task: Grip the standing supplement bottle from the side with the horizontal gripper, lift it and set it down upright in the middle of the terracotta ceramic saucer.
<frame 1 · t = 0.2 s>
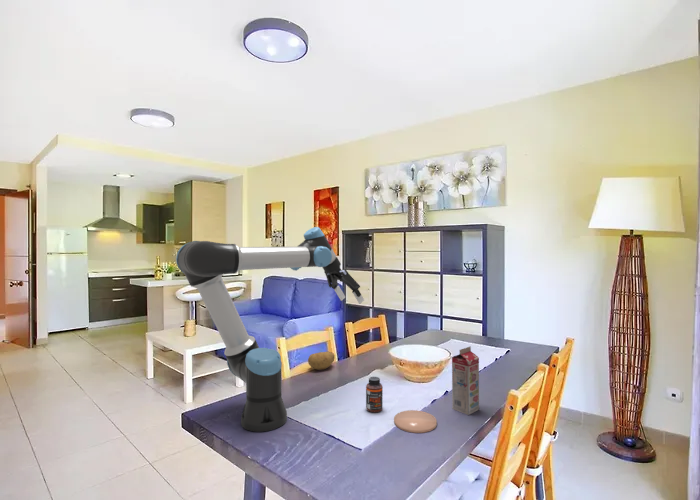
hand: (352, 300, 166), 35 cm above the table, tool tilted 35°, fingers open, 13 cm apart
saucer: (415, 422, 126), on the table
juice carton: (465, 409, 136), on the table
potato: (321, 369, 181), on the table
supplement bottle: (374, 410, 136), on the table
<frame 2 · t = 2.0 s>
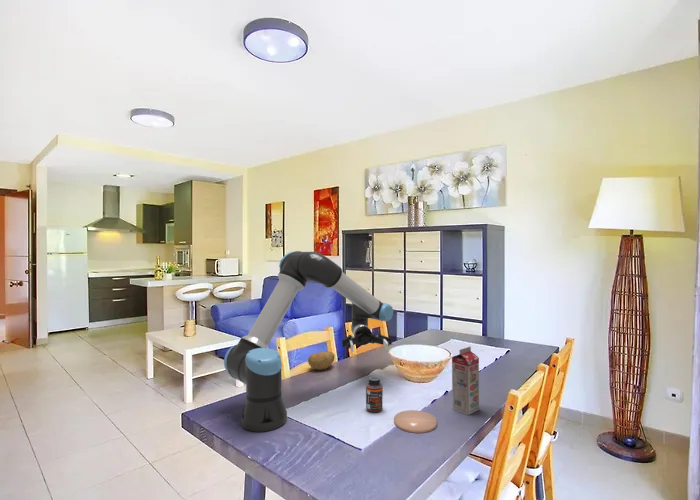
hand: (369, 347, 145), 20 cm above the table, tool horizontal, fingers open, 13 cm apart
nothing on the table moved.
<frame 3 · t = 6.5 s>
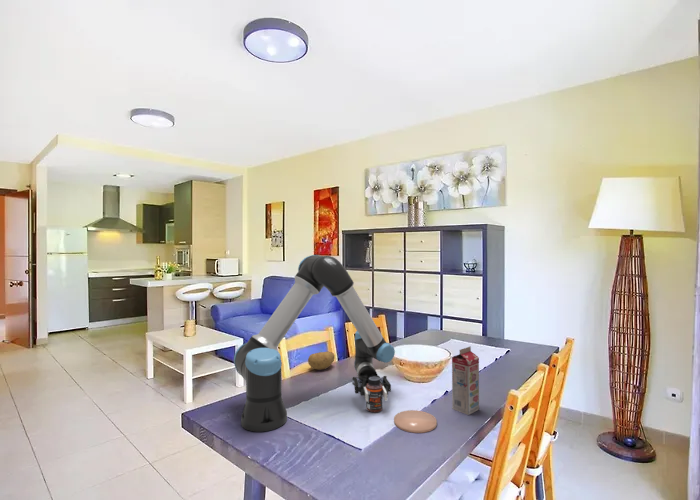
hand: (376, 397, 131), 7 cm above the table, tool horizontal, fingers closed on supplement bottle, 6 cm apart
supplement bottle: (374, 410, 136), on the table, touching gripper
everything else where it was.
when the fingers open (9 cm above the table, at t = 12.1 s): supplement bottle drops 1 cm, resting on saucer.
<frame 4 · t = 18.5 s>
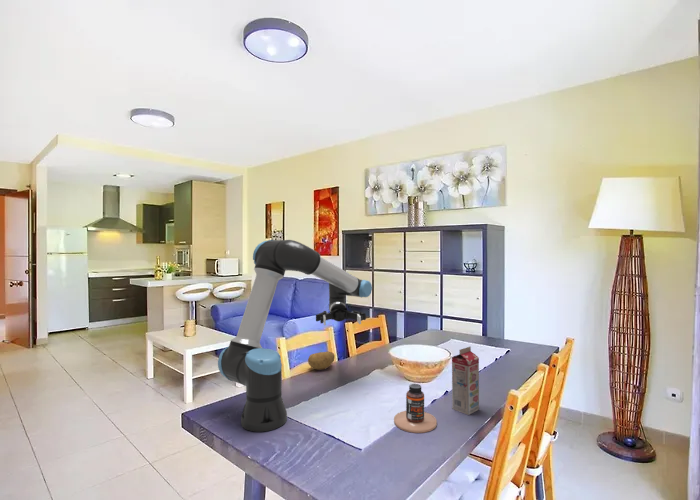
hand: (342, 321, 145), 30 cm above the table, tool horizontal, fingers open, 13 cm apart
supplement bottle: (415, 420, 126), point 1 cm above the table, touching saucer
everything else where it was.
at the end: supplement bottle 0.1 cm off-centre on the saucer, point 0.8 cm above the saucer's base; supplement bottle tilted 0°; the gripper is holding nothing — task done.
